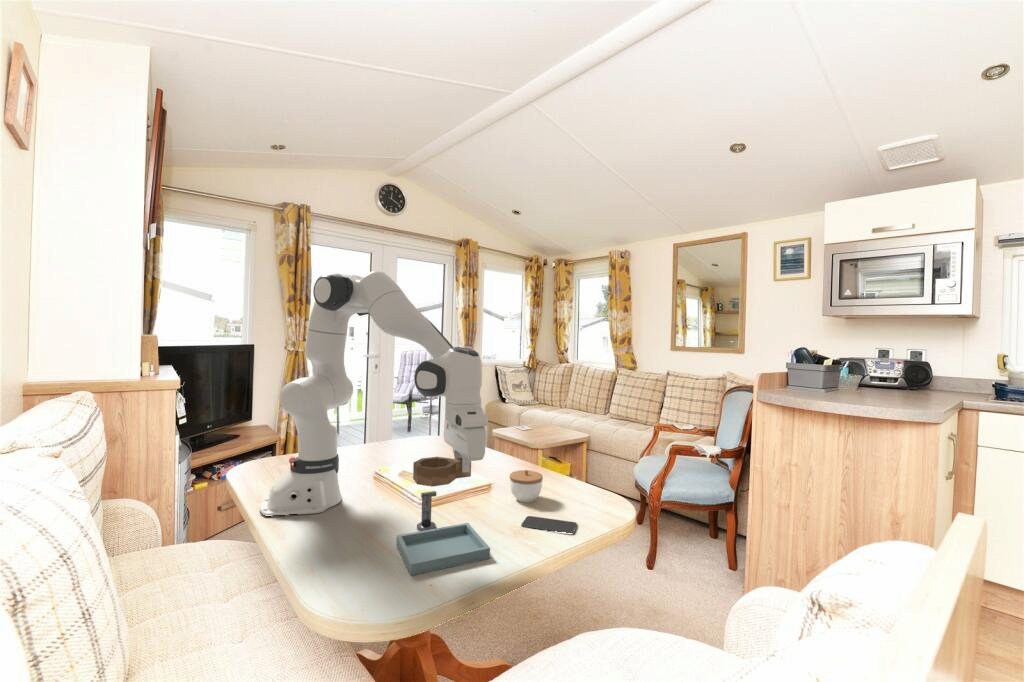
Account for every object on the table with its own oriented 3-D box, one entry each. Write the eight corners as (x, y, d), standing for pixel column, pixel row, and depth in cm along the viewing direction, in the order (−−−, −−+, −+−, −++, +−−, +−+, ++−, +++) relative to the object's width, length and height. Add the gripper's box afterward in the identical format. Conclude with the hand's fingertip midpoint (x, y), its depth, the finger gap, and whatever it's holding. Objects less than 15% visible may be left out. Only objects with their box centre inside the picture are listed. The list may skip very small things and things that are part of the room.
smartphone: (527, 515, 132) (578, 522, 127) (527, 518, 132) (578, 525, 127) (520, 525, 125) (573, 533, 120) (519, 528, 125) (573, 536, 120)
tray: (410, 575, 99) (410, 564, 99) (396, 545, 112) (396, 535, 112) (489, 558, 107) (490, 548, 107) (467, 531, 121) (468, 522, 121)
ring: (420, 488, 102) (420, 470, 102) (410, 475, 110) (410, 459, 110) (475, 480, 108) (476, 464, 108) (462, 469, 116) (462, 453, 116)
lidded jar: (517, 507, 138) (518, 477, 138) (503, 495, 148) (504, 467, 148) (547, 502, 143) (548, 473, 142) (532, 491, 152) (533, 463, 152)
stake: (419, 532, 119) (420, 497, 119) (414, 525, 124) (415, 491, 124) (437, 529, 122) (438, 494, 121) (432, 522, 126) (433, 488, 126)
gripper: (438, 407, 119) (437, 458, 119) (465, 422, 100) (463, 483, 101) (461, 405, 122) (459, 456, 122) (491, 420, 103) (489, 480, 104)
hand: (461, 468), depth 111 cm, fingers closed on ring, 3 cm apart
